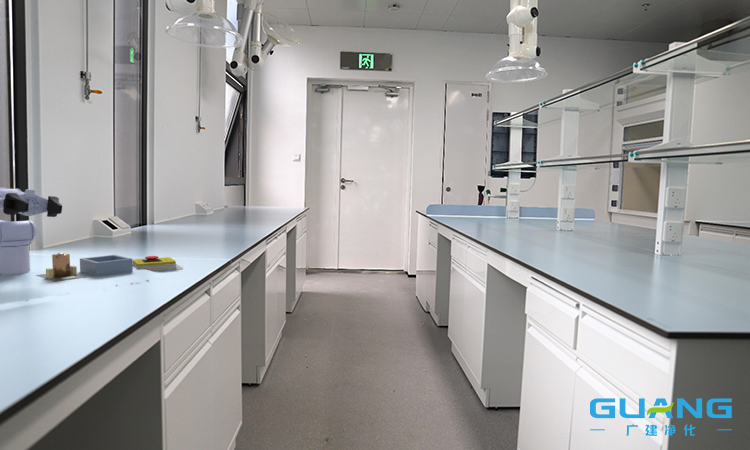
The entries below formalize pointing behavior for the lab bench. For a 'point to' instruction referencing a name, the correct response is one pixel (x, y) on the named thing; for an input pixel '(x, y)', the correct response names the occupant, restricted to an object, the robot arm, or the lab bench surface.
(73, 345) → the lab bench surface
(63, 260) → the copper cell
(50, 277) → the checker cradle
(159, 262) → the emergency button
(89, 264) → the grey open box
